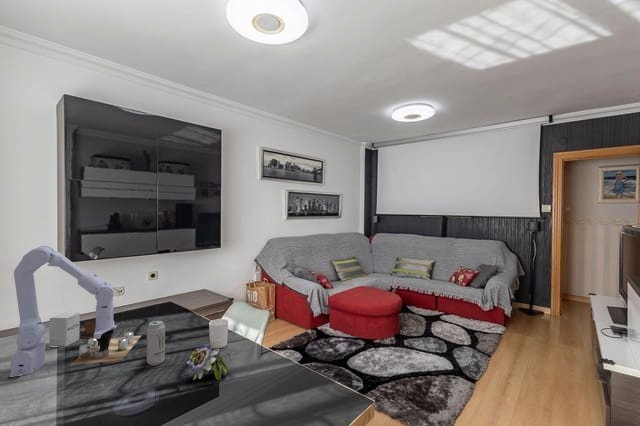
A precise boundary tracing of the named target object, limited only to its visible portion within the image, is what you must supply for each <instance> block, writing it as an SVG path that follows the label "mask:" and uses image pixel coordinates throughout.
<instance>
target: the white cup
mask: <svg viewBox="0 0 640 426" xmlns="http://www.w3.org/2000/svg"><path fill="white" fill-rule="evenodd" d="M208 326H209V327H208V330H209V331H208V332H209V343H210V342H211V341H213V342H214V345H213V347H212V349H221V348H225V347H227V345H228V335H229V320H228V319H225V318H217V319H212V320H211V321H209V322H208Z"/></svg>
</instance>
